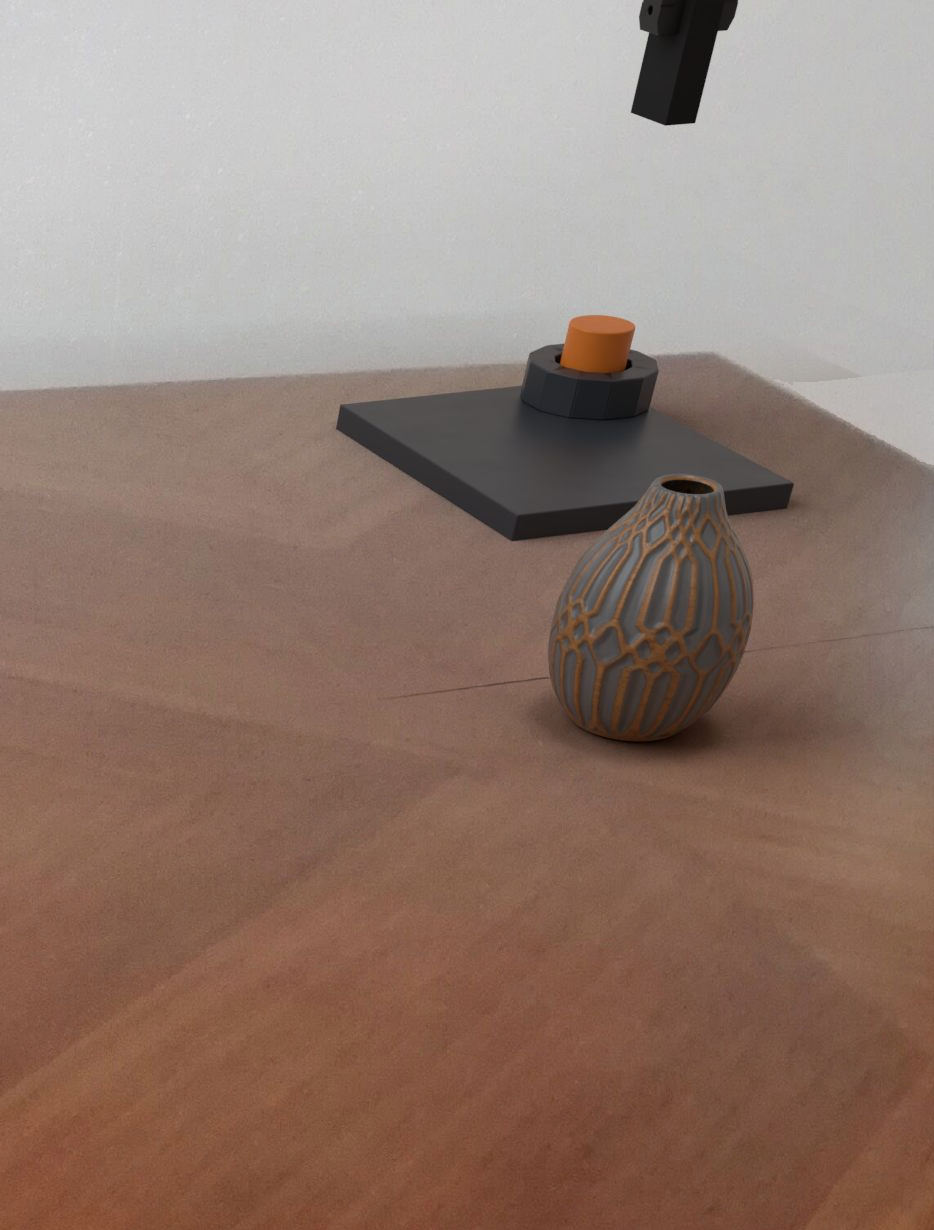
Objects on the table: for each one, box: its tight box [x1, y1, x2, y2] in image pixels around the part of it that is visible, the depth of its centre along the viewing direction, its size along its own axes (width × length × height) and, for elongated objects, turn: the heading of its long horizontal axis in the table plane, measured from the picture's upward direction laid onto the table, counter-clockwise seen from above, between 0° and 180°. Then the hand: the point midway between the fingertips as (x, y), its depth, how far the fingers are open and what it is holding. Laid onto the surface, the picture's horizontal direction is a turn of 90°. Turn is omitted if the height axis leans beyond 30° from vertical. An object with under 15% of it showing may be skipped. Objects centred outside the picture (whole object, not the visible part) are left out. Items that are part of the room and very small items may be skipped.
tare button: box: [560, 314, 636, 373], centre depth 117 cm, size 3×3×2 cm
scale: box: [335, 343, 795, 542], centre depth 114 cm, size 16×14×3 cm
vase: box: [547, 474, 755, 742], centre depth 91 cm, size 7×7×9 cm
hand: (662, 117), depth 109 cm, fingers closed
